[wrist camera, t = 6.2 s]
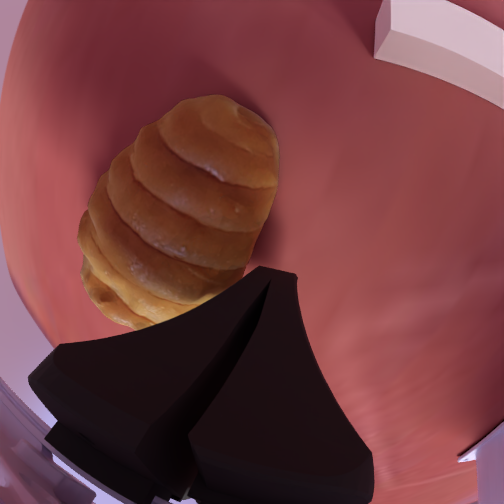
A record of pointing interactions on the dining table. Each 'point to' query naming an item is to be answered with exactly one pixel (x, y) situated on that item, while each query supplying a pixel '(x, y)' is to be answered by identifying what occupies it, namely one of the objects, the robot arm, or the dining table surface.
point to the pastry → (178, 211)
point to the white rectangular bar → (443, 44)
